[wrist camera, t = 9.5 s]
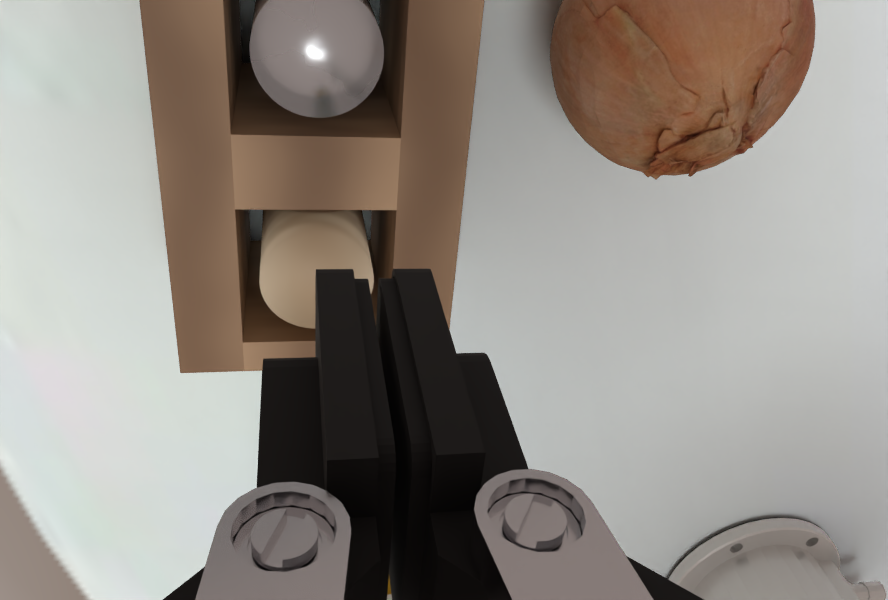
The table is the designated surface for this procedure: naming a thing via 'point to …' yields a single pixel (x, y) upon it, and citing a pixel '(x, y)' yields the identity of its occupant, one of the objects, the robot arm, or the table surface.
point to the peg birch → (308, 257)
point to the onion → (678, 76)
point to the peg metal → (316, 54)
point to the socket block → (301, 165)
